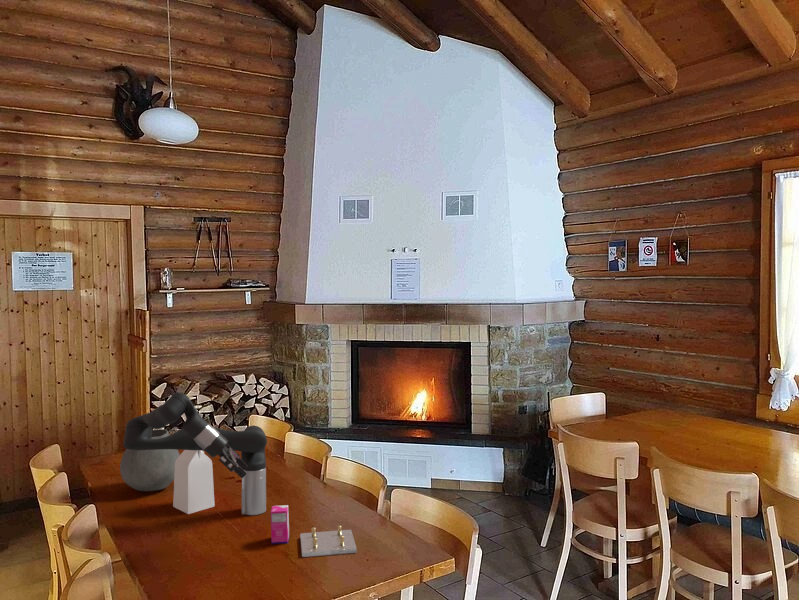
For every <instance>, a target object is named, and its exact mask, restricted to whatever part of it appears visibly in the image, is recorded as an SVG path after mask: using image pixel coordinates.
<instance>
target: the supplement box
mask: <svg viewBox="0 0 799 600" xmlns="http://www.w3.org/2000/svg"><path fill="white" fill-rule="evenodd" d="M289 513H290V512H289V505H288V504H287V505H286V504H285V505H284V504H283V505H273V506H272V507H271V509H270V533H271V535H270V537H271V540H270V541H271V545H279V544H289V539H290V521H289V516H290V515H289Z"/></svg>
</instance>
